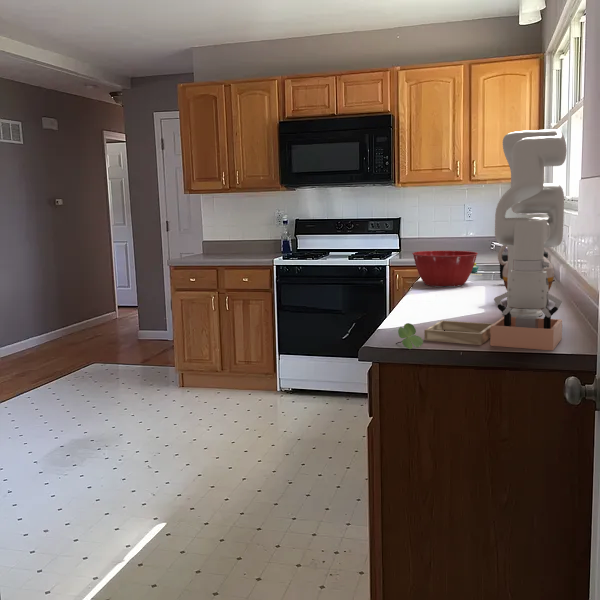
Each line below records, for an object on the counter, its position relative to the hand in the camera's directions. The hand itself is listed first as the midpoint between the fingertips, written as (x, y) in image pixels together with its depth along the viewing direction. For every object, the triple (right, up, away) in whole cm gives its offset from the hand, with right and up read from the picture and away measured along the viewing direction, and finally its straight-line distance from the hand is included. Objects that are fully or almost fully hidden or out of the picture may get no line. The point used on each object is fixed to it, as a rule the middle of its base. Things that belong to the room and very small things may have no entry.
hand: (526, 330), depth 175 cm
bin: (0, -3, 0) cm, 3 cm away
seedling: (-34, -4, +3) cm, 35 cm away
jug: (+22, +7, +66) cm, 70 cm away
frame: (-16, -3, +9) cm, 18 cm away
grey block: (0, -2, 0) cm, 2 cm away
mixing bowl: (+4, +14, +117) cm, 118 cm away
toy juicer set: (+22, +20, +163) cm, 166 cm away
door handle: (+37, +13, +110) cm, 117 cm away
